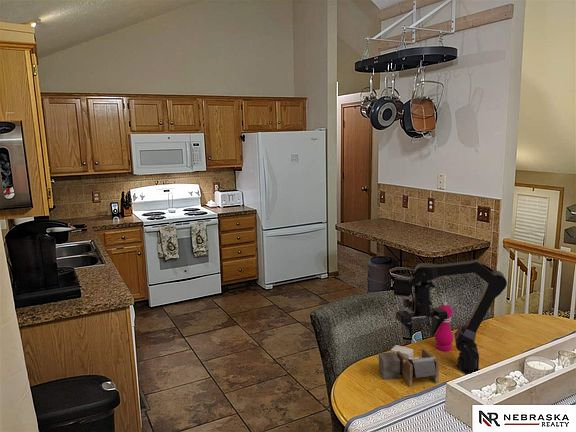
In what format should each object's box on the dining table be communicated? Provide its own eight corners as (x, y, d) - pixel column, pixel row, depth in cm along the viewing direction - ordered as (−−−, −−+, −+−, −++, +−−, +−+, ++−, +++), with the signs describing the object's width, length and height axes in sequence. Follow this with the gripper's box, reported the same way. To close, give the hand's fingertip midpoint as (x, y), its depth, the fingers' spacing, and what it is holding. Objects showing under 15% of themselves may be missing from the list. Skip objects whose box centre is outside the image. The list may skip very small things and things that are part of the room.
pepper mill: (431, 344, 187) (432, 299, 184) (448, 343, 188) (449, 298, 185) (438, 352, 180) (440, 305, 177) (456, 351, 181) (457, 304, 178)
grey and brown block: (421, 373, 167) (418, 356, 169) (437, 375, 155) (433, 356, 157) (401, 376, 166) (398, 359, 167) (415, 377, 154) (412, 359, 156)
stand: (394, 369, 168) (394, 352, 167) (399, 378, 161) (400, 360, 160) (378, 370, 167) (378, 353, 166) (383, 379, 161) (383, 361, 160)
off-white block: (413, 362, 173) (395, 358, 177) (413, 349, 172) (395, 345, 176) (408, 367, 169) (390, 363, 173) (408, 354, 168) (390, 349, 172)
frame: (425, 368, 168) (425, 347, 167) (439, 383, 158) (440, 361, 156) (395, 371, 166) (395, 351, 165) (408, 387, 156) (408, 365, 154)
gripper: (434, 288, 177) (433, 326, 179) (390, 292, 174) (389, 330, 176) (449, 297, 166) (448, 337, 169) (402, 302, 163) (401, 342, 165)
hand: (421, 336), depth 170 cm, fingers open, 9 cm apart
